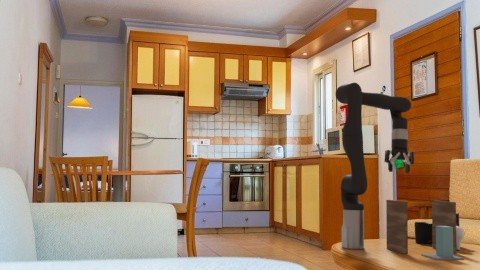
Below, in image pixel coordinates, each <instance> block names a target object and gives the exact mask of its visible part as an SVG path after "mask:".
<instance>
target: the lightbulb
mask: <svg viewBox="0 0 480 270" xmlns="http://www.w3.org/2000/svg"><path fill="white" fill-rule="evenodd" d="M464 237H465V230H464V228H463V227H462V226H460V225H459V226H456V250H458V251H461V243H462V241H463V239H464Z"/></svg>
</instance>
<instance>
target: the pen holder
mask: <svg viewBox="0 0 480 270" xmlns="http://www.w3.org/2000/svg"><path fill="white" fill-rule="evenodd" d="M414 238H415V243H416V244H419V245H420V244H422V245H433V244H432V223H428V222H426V221H415V222H414Z"/></svg>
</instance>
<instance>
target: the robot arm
mask: <svg viewBox="0 0 480 270" xmlns="http://www.w3.org/2000/svg"><path fill="white" fill-rule="evenodd" d="M335 98H336V101H338V102H339V103H340V104H342V105H343V104H344V105H347V114H346V115H347V116H346V118H345V121H344V124H343V127H342V131H341V139H342V140H341V141H342V148H343V151H344V152H345V155H346V157H347V158H348V161H349V163H350V169H351V170H350V171H351V172H350V173H351V174H346V175H344V176H343V177H342V179H341V183H340V194H341V195H340V199H341V200H340V201H341V204H342V209H343V210H342V211H343V212H342V214H343V215H342V217H343V221H342V222H343V223H342V225H341V248H344V249H350V250H362V249H363V250H364V249H365V210H364V209H365V204H364V203H363V202H362V201H360V199H359V196H363V195H364V194H365V193H366V192H367V189H368V178H367V171H366V165H365V164H366V163H365V155H364V154H365V153H364V136H363V120H362V119H363V118H362V116H363V115H362V111H363V110H362V108H363V107H362V106H367V107H373V108H377V109H380V110H386V111H389V112H390V116H391V121H392V124H391V125H392V129H391V130H392V131H391V150H390V149H386V150H385V151H384V163H387V170H388V172H390V173H392V172H393V170H394V169H393V168H394V164H393V163H394V162H395V161H396V160H397V161H398V160H399V161H403V162H404V164H405V171H404V172H405V174H409V173H410V170H411V165H414V164H415V153H414V151H408V147H409V133H408V124H409V123H408V119H407V118H406V117H403V115H402V113H407V112H408V111H410V110H411V108H412V101H410V99H409V98H407V97H404V96H395V95H393V96H392V95H389V94H383V93H378V92H365V91H363V90H362V88H361V86H360V84H359V83H358V82H349V83H345V84H342V85H340V86H338V87H337V88H336V91H335ZM390 156H391V157H390Z"/></svg>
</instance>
